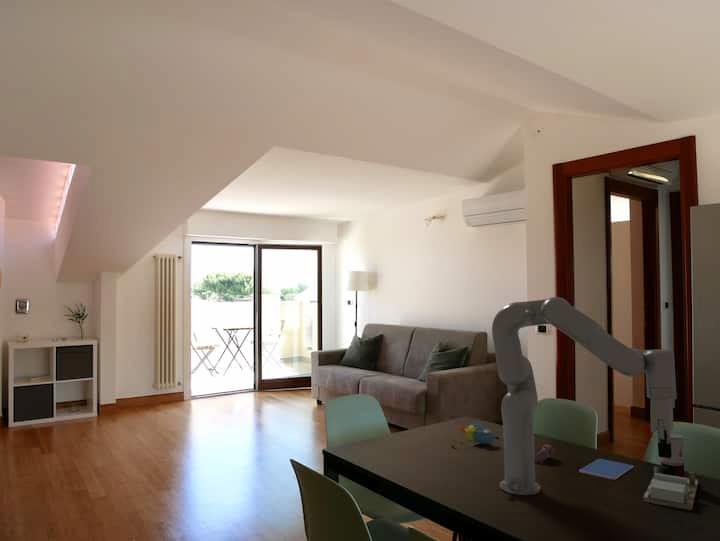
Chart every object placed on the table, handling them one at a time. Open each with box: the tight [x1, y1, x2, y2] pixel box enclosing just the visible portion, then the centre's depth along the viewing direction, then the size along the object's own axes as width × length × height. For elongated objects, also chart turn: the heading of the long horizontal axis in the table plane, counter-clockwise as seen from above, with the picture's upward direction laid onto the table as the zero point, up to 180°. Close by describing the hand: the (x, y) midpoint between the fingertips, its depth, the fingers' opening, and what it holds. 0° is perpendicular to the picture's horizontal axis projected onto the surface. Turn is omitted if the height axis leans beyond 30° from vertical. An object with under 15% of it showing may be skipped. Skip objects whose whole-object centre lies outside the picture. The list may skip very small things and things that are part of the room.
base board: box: [642, 466, 699, 511], centre depth 170 cm, size 27×12×5 cm, turn 145°
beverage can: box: [660, 432, 686, 478], centre depth 176 cm, size 7×6×15 cm
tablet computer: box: [578, 458, 634, 481], centre depth 193 cm, size 19×13×1 cm, turn 136°
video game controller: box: [534, 444, 555, 463], centre depth 204 cm, size 10×5×7 cm, turn 143°
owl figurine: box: [459, 423, 497, 445], centre depth 228 cm, size 28×9×15 cm
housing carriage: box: [651, 473, 687, 504], centre depth 164 cm, size 10×8×5 cm
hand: (665, 456), depth 156 cm, fingers closed
